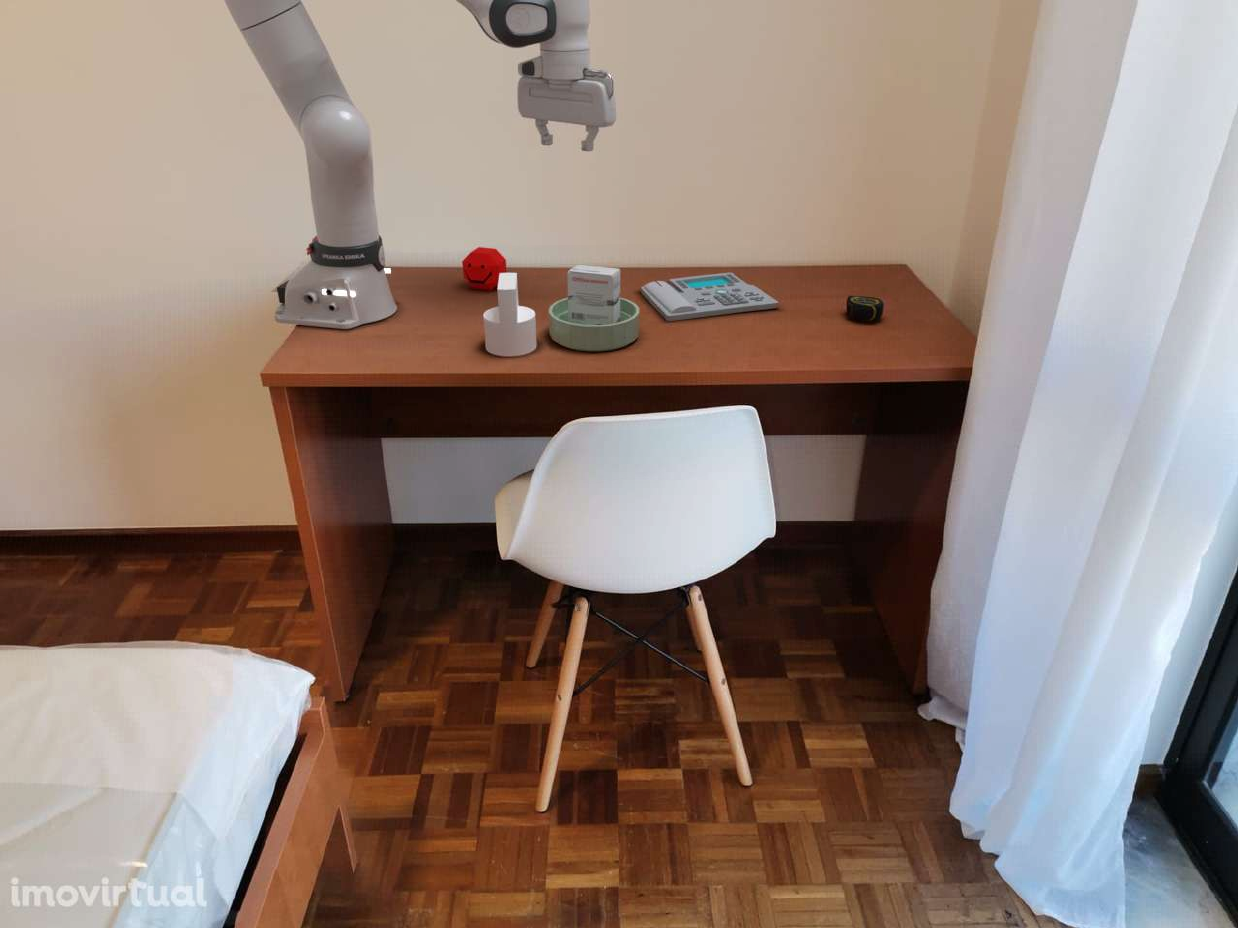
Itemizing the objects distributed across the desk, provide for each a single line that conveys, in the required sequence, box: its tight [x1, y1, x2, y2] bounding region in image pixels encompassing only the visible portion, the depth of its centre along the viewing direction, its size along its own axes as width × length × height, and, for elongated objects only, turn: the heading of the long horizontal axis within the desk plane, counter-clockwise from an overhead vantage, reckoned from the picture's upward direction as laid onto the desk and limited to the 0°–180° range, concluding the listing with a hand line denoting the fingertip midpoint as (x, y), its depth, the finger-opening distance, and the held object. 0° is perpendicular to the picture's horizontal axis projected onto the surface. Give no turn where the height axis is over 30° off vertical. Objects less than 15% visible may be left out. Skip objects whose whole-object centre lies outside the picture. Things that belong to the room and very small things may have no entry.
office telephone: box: [640, 272, 779, 322], centre depth 181 cm, size 23×3×20 cm
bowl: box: [548, 297, 640, 352], centre depth 163 cm, size 16×16×5 cm
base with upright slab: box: [482, 272, 538, 357], centre depth 157 cm, size 9×9×12 cm
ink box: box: [566, 264, 621, 325], centre depth 161 cm, size 8×5×12 cm, turn 74°
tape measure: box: [845, 295, 885, 322], centre depth 172 cm, size 7×7×4 cm
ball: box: [461, 246, 508, 291], centre depth 185 cm, size 8×8×8 cm
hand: (567, 147), depth 167 cm, fingers open, 8 cm apart
